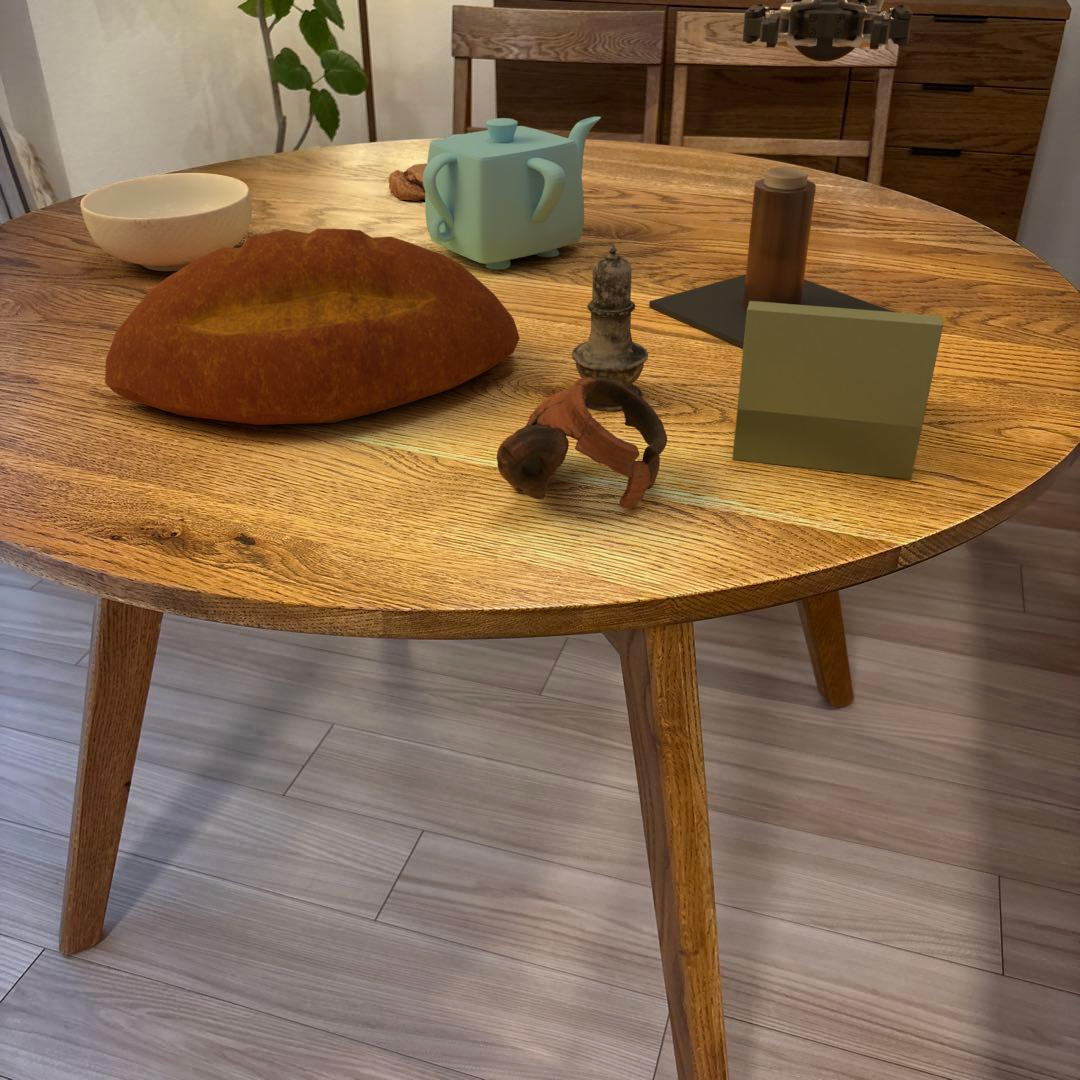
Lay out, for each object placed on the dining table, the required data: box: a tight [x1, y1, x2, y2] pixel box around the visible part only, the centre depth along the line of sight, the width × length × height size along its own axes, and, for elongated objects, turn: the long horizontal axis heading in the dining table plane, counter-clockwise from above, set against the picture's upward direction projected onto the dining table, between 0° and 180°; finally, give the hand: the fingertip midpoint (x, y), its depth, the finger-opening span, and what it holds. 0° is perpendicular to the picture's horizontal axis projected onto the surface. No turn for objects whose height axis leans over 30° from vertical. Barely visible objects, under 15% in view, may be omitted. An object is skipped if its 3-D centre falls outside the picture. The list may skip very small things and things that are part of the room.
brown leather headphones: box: [496, 376, 668, 510], centre depth 68 cm, size 12×10×8 cm
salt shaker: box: [571, 244, 649, 412], centre depth 78 cm, size 6×6×12 cm
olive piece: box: [731, 301, 944, 480], centre depth 73 cm, size 12×12×11 cm
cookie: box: [388, 163, 427, 202], centre depth 132 cm, size 10×11×3 cm
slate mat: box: [648, 273, 895, 349], centre depth 96 cm, size 16×16×1 cm
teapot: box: [423, 116, 602, 271], centre depth 109 cm, size 18×16×14 cm
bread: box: [104, 228, 521, 426], centre depth 81 cm, size 21×33×12 cm, turn 100°
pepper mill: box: [743, 167, 817, 310], centre depth 93 cm, size 5×5×12 cm
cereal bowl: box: [80, 172, 253, 272], centre depth 109 cm, size 17×17×7 cm
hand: (823, 34), depth 87 cm, fingers open, 8 cm apart
